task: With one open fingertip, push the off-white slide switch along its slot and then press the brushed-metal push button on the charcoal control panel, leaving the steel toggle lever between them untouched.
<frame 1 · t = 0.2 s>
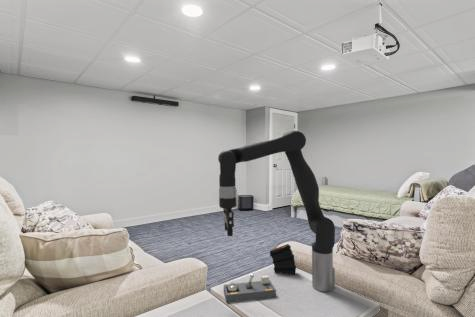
hand: (228, 232, 115), 28 cm above the table, tool pointing down, fingers open, 8 cm apart
slider: (265, 279, 121), point 5 cm above the table, slide at 0.0 cm
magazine: (282, 272, 139), on the table
button: (232, 288, 117), point 3 cm above the table, slide at 0.0 cm
toggle: (250, 279, 118), point 7 cm above the table, hinge at -20.0°
panel: (249, 293, 118), on the table
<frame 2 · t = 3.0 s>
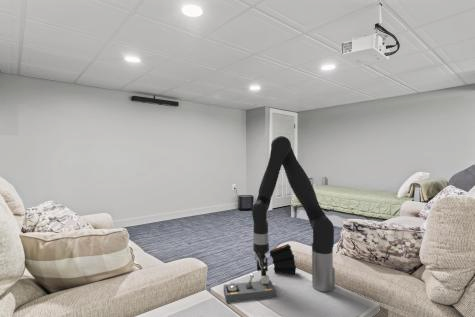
hand: (261, 274, 128), 4 cm above the table, tool pointing down, fingers open, 8 cm apart
slider: (265, 279, 121), point 5 cm above the table, slide at 0.1 cm, touching gripper
everything else where it was.
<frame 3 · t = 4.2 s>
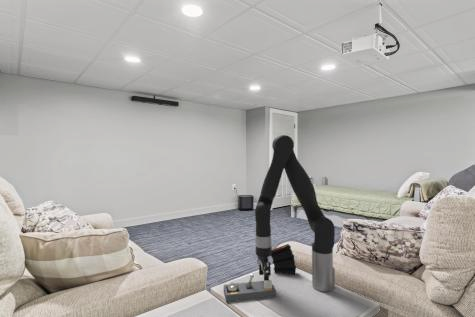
hand: (263, 278, 124), 4 cm above the table, tool pointing down, fingers open, 8 cm apart
slider: (267, 284, 117), point 5 cm above the table, slide at 4.6 cm, touching gripper
everything else where it was.
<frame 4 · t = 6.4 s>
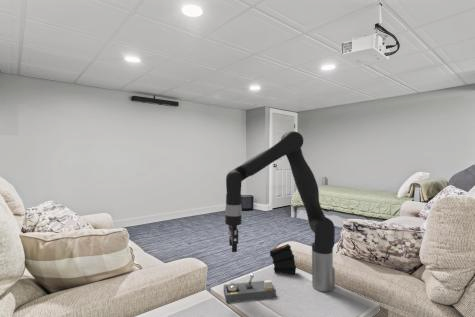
hand: (232, 248, 122), 19 cm above the table, tool pointing down, fingers open, 8 cm apart
slider: (267, 284, 117), point 5 cm above the table, slide at 4.6 cm
everything else where it was.
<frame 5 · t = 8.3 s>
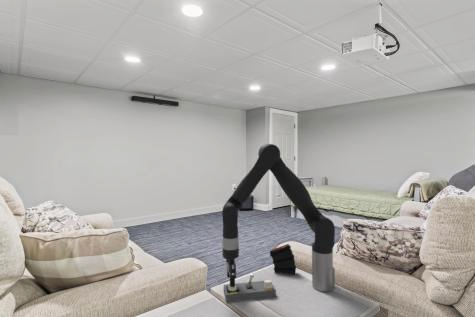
hand: (230, 281, 121), 4 cm above the table, tool pointing down, fingers open, 8 cm apart
button: (232, 288, 117), point 3 cm above the table, slide at 0.0 cm, touching gripper
everything else where it was.
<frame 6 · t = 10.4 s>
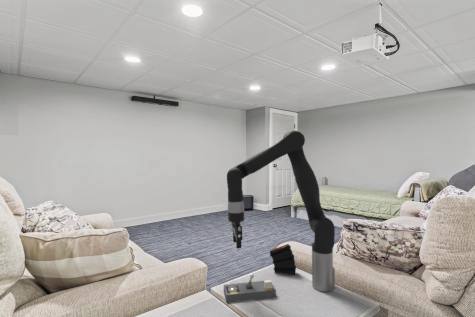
hand: (237, 245, 123), 20 cm above the table, tool pointing down, fingers open, 8 cm apart
button: (232, 291, 117), point 2 cm above the table, slide at 1.1 cm
everything else where it was.
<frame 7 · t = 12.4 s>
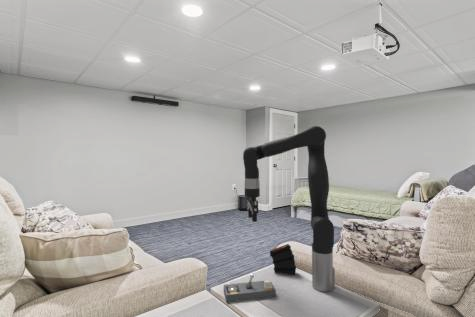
hand: (252, 219, 131), 30 cm above the table, tool pointing down, fingers open, 8 cm apart
nothing on the table moved.
at the end: slider slide at 4.6 cm; button slide at 1.1 cm; toggle at -20° (first picture: -20°) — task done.
